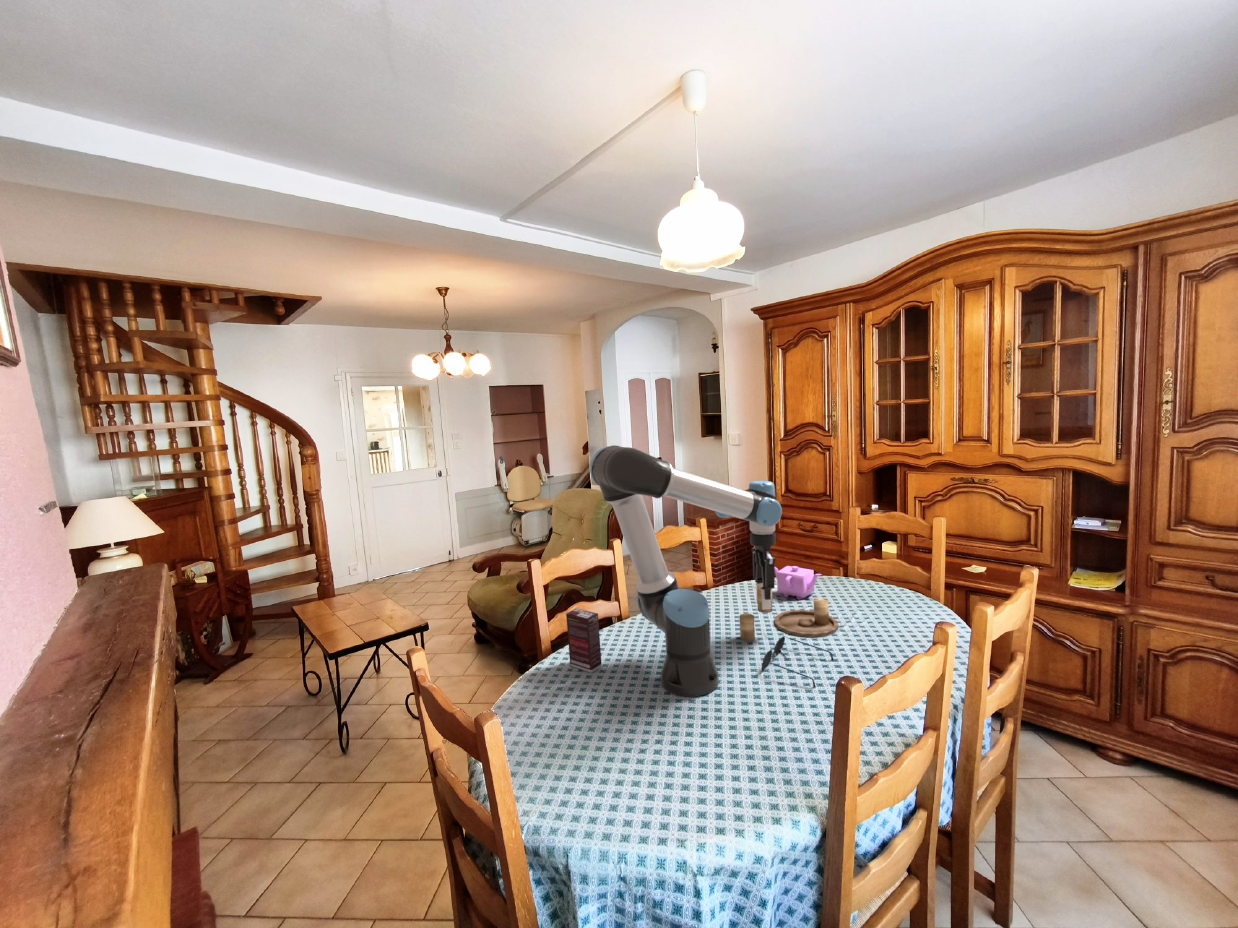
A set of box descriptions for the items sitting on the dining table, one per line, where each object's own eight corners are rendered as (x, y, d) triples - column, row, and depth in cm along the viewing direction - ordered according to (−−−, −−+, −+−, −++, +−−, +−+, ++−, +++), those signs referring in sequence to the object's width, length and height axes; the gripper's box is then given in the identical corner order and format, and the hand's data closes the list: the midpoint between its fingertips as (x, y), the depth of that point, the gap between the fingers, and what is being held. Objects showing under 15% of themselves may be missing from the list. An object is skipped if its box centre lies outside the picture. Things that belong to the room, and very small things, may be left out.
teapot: (780, 602, 191) (779, 573, 190) (770, 590, 205) (769, 562, 204) (822, 600, 191) (822, 571, 190) (810, 588, 204) (809, 560, 203)
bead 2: (774, 612, 162) (774, 590, 161) (760, 613, 162) (759, 591, 161) (769, 607, 166) (768, 585, 166) (755, 608, 166) (754, 586, 165)
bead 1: (757, 640, 162) (756, 618, 162) (743, 641, 162) (742, 619, 161) (752, 634, 167) (751, 612, 166) (738, 635, 166) (737, 614, 166)
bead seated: (831, 624, 168) (831, 603, 167) (818, 625, 168) (817, 604, 167) (824, 619, 172) (824, 598, 172) (811, 620, 172) (811, 599, 171)
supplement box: (602, 666, 152) (599, 612, 150) (591, 673, 148) (587, 618, 146) (580, 659, 157) (576, 607, 156) (569, 665, 153) (565, 612, 152)
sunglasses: (781, 649, 156) (783, 633, 155) (833, 667, 148) (835, 651, 147) (759, 674, 142) (761, 657, 141) (814, 696, 134) (817, 678, 133)
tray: (850, 635, 161) (849, 629, 161) (789, 642, 159) (789, 635, 159) (820, 612, 180) (820, 607, 180) (766, 618, 178) (765, 612, 178)
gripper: (786, 537, 154) (786, 615, 156) (764, 525, 170) (765, 596, 172) (760, 538, 153) (762, 617, 155) (741, 526, 170) (742, 597, 172)
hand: (763, 606), depth 164 cm, fingers closed on bead 2, 4 cm apart
